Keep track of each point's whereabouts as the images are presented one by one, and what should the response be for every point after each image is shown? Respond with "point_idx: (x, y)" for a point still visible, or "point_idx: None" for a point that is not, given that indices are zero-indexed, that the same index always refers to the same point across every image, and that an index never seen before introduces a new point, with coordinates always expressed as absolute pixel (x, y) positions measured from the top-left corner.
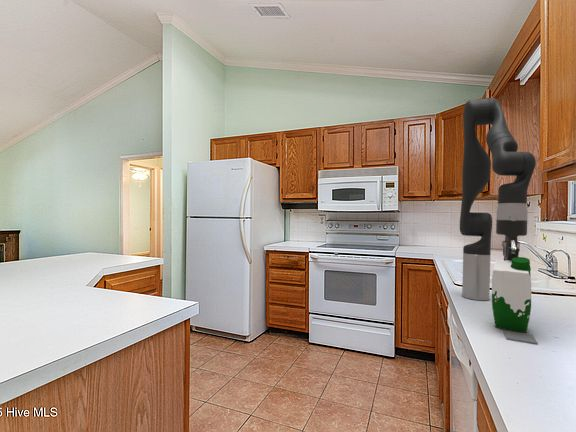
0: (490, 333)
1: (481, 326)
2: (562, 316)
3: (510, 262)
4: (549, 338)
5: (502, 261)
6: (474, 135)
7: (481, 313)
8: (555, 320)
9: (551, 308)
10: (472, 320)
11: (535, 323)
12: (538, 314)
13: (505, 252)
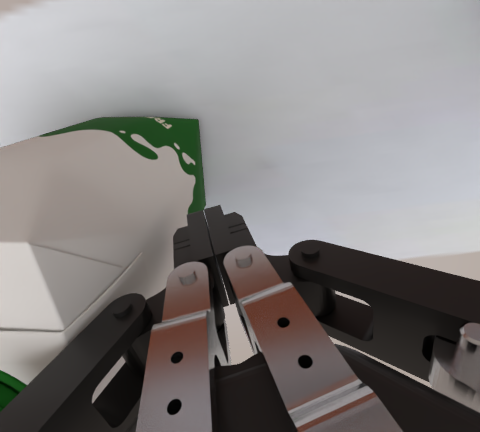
0: (15, 118)
1: (74, 74)
2: (386, 245)
3: (18, 359)
4: None
5: (17, 300)
6: None
7: (269, 41)
8: (333, 238)
9: (463, 217)
10: (128, 25)
11: (264, 206)
12: (375, 200)
13: (152, 378)
